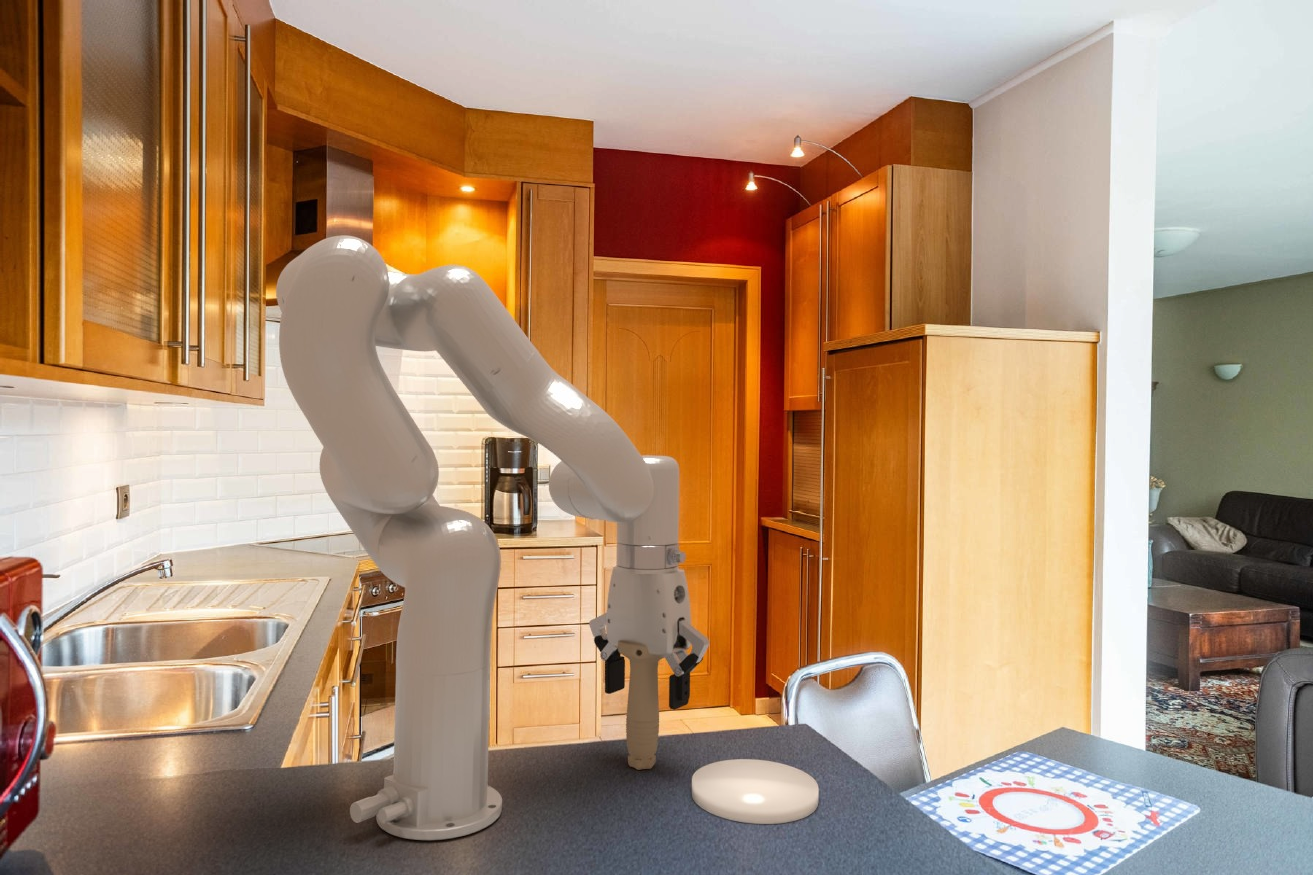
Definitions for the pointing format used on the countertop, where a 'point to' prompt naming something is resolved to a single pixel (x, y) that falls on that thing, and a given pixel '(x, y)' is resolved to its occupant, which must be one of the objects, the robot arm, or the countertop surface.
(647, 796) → the countertop surface
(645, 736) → the handle
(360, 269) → the robot arm
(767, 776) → the plate
